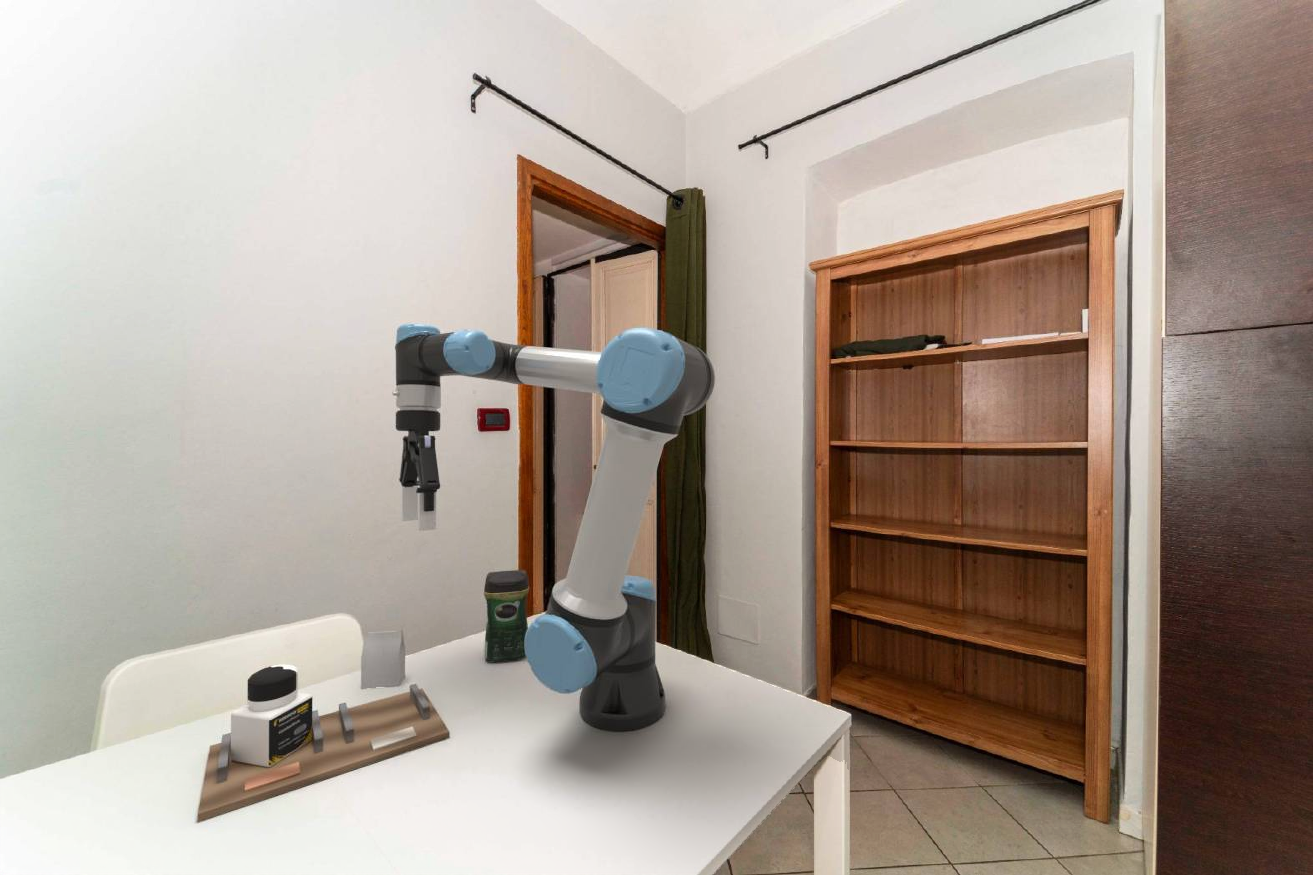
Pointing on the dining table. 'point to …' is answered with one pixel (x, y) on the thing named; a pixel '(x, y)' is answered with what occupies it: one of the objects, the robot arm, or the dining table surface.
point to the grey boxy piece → (383, 659)
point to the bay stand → (324, 751)
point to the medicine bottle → (271, 718)
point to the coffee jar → (506, 615)
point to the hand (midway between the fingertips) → (418, 525)
